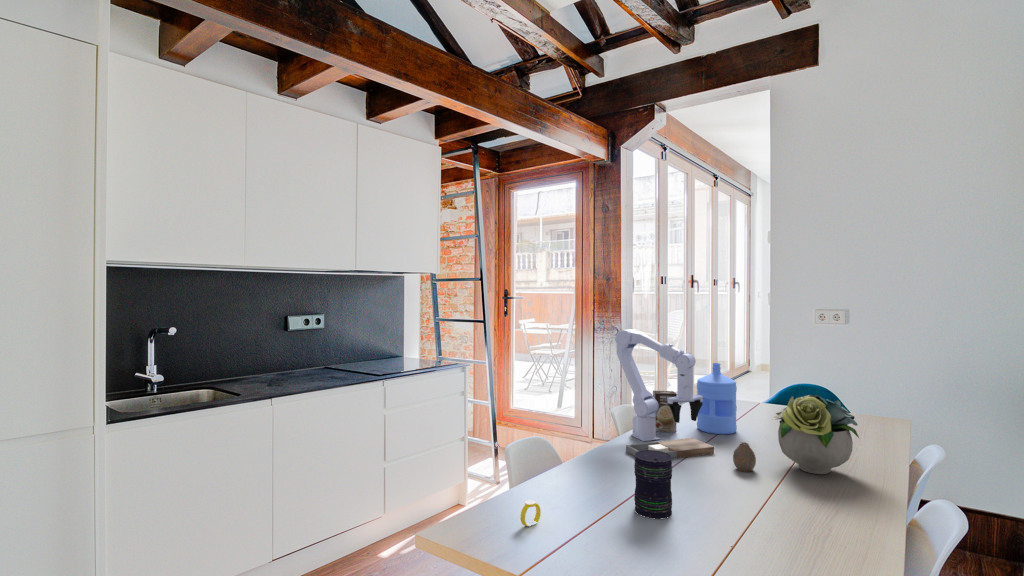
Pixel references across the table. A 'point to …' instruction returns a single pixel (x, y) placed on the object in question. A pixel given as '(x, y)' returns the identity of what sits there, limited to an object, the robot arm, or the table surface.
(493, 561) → the table surface
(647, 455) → the storage jar
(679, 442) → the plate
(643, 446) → the box
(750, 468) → the brown oval piece
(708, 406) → the water jug
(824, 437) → the flower arrangement
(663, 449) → the white square block
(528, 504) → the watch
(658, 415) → the coffee box
